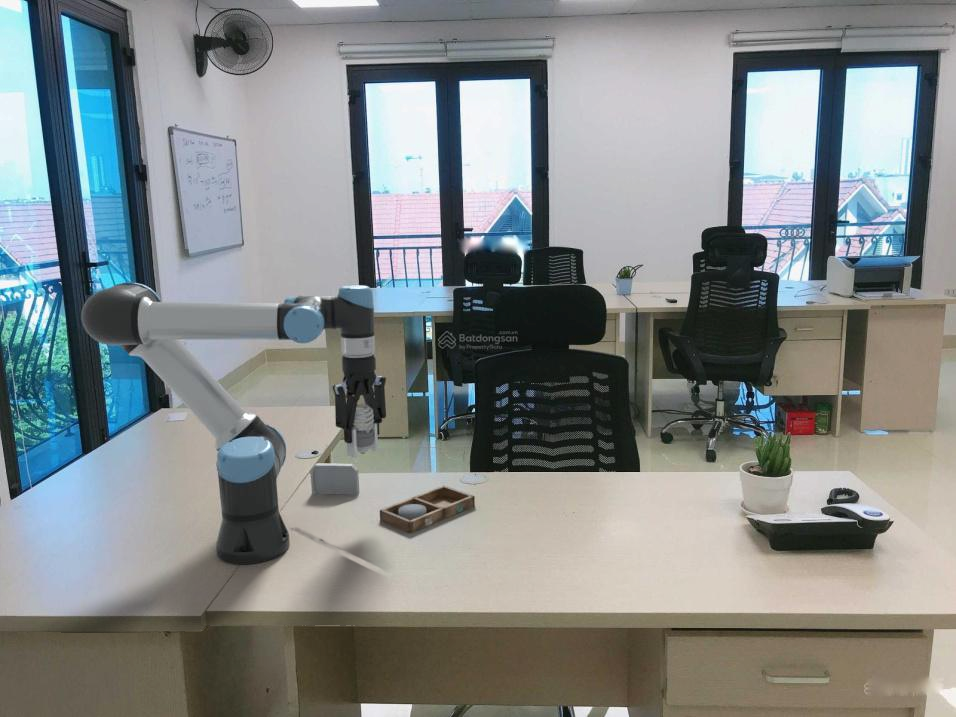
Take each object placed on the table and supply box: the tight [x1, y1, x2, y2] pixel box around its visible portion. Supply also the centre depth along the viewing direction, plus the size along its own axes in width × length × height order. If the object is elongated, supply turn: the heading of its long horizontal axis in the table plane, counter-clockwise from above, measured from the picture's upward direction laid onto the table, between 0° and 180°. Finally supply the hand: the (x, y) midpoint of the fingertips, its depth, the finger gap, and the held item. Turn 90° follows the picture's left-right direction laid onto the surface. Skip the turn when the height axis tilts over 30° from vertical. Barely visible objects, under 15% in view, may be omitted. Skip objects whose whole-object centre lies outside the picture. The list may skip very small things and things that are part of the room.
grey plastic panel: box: [309, 462, 360, 496], centre depth 196 cm, size 2×12×8 cm, turn 84°
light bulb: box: [353, 402, 374, 455], centre depth 178 cm, size 6×6×12 cm
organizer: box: [379, 485, 476, 534], centre depth 181 cm, size 20×11×4 cm, turn 136°
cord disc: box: [398, 504, 426, 520], centre depth 178 cm, size 6×6×2 cm
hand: (362, 452), depth 179 cm, fingers closed on light bulb, 5 cm apart
